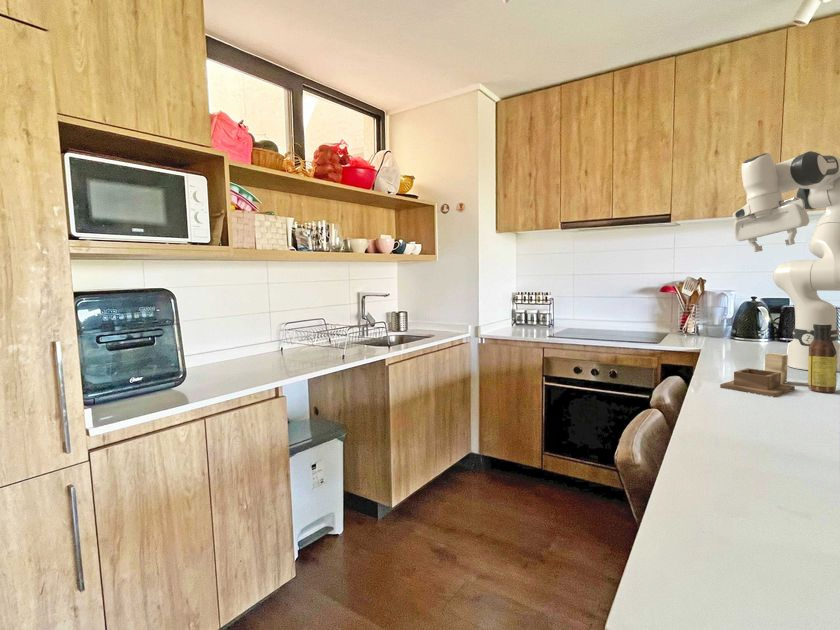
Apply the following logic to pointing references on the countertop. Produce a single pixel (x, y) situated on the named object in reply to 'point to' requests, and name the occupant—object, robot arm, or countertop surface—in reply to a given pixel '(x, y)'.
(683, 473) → the countertop surface
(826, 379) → the sauce bottle
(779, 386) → the walnut stand
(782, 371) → the maple block
